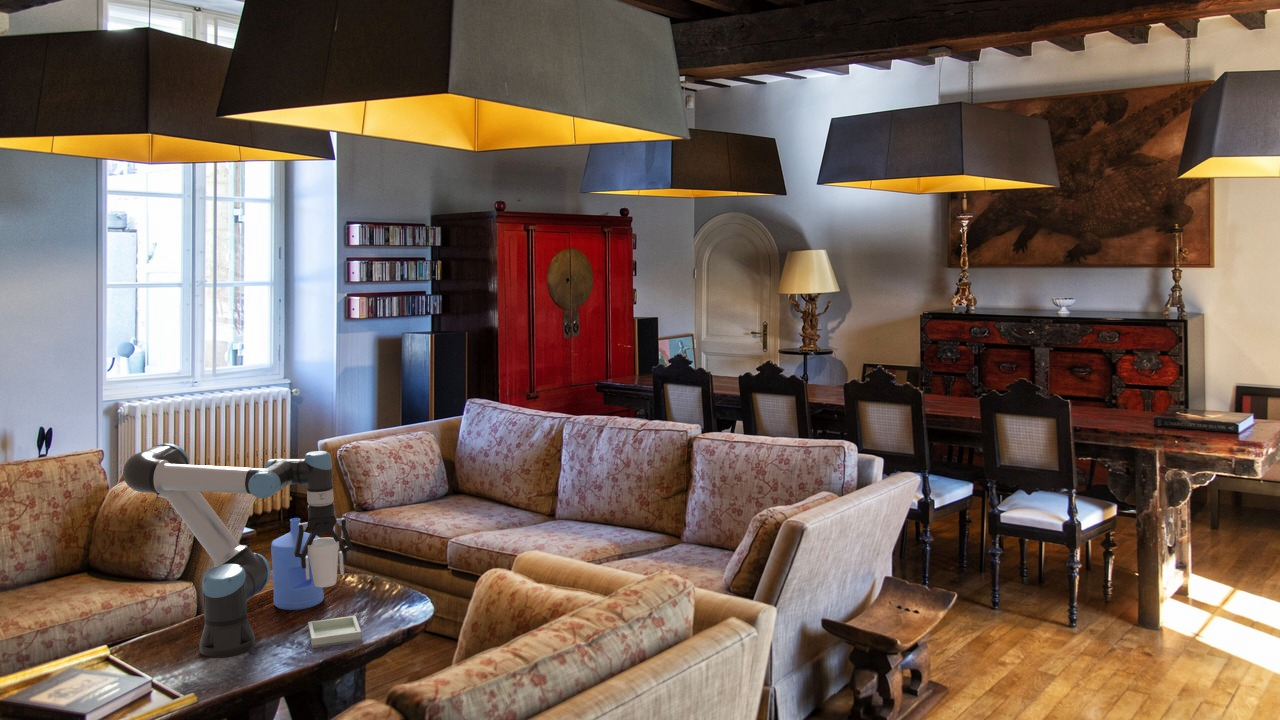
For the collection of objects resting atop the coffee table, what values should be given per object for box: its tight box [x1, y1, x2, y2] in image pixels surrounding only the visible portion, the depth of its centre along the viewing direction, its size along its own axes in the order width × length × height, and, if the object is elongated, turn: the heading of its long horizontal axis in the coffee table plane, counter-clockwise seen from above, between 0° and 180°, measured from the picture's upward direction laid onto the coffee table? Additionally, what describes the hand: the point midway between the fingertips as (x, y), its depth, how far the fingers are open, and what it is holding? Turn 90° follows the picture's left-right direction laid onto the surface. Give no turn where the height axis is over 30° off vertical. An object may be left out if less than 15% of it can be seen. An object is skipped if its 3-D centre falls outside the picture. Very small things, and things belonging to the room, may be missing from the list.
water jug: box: [270, 517, 325, 611], centre depth 346 cm, size 16×16×28 cm
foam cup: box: [308, 537, 341, 588], centre depth 320 cm, size 10×9×13 cm
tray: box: [307, 615, 362, 649], centre depth 319 cm, size 14×14×3 cm
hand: (324, 575), depth 320 cm, fingers closed on foam cup, 9 cm apart
